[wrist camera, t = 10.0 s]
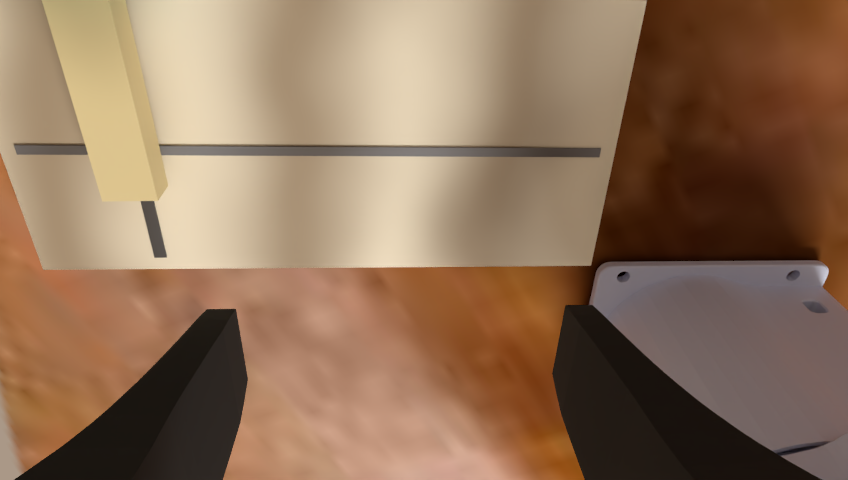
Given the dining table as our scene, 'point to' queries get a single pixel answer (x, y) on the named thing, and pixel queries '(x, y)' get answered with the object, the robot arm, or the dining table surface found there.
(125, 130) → the teal cube mallet
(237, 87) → the board
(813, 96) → the dining table surface
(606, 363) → the robot arm
